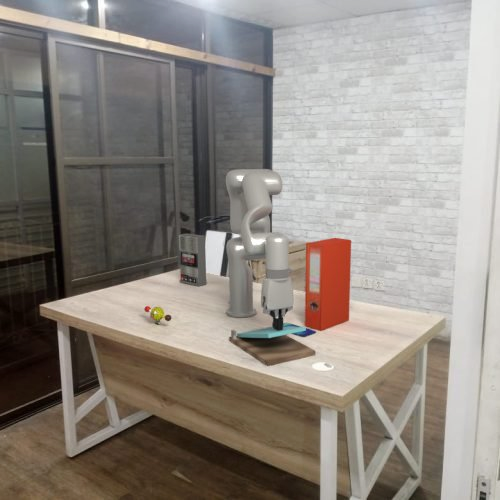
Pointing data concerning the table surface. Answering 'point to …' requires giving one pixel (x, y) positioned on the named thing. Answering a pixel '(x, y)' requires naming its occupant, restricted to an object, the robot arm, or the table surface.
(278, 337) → the press base
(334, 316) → the file binder
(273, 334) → the plate
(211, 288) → the table surface
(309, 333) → the smartphone
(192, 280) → the cassette tape recorder
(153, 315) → the molecule model
